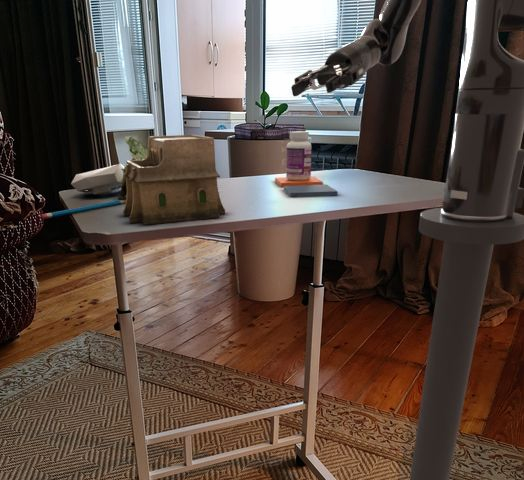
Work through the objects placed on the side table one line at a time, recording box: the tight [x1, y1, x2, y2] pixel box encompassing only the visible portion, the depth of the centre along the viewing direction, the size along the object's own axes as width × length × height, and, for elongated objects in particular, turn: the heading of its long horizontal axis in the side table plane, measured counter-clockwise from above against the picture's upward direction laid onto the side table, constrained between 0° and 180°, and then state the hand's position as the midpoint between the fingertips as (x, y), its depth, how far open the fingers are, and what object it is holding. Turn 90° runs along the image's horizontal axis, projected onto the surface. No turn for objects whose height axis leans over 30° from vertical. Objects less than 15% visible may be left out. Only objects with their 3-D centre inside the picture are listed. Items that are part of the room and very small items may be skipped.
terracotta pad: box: [274, 176, 324, 188], centre depth 110 cm, size 9×9×1 cm
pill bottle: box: [285, 130, 312, 181], centre depth 108 cm, size 5×5×10 cm
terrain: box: [124, 135, 148, 160], centre depth 91 cm, size 15×9×2 cm
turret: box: [70, 163, 126, 196], centre depth 103 cm, size 10×20×5 cm, turn 169°
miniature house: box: [122, 134, 226, 226], centre depth 79 cm, size 15×14×11 cm
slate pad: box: [283, 184, 338, 198], centre depth 98 cm, size 9×9×1 cm
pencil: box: [40, 199, 126, 220], centre depth 86 cm, size 1×17×1 cm, turn 143°
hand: (310, 89), depth 104 cm, fingers open, 8 cm apart
